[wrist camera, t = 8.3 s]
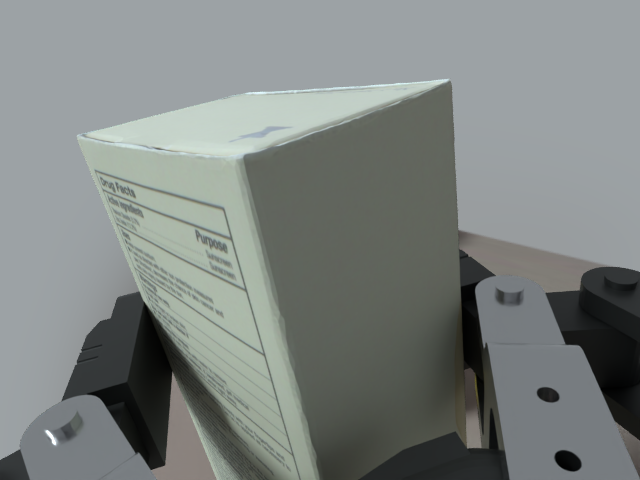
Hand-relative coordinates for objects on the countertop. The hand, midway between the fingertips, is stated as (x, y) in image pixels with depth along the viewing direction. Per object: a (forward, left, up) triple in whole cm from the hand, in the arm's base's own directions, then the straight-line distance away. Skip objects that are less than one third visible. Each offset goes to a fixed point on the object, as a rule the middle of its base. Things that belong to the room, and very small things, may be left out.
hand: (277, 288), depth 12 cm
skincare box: (0, +2, -7) cm, 8 cm away
